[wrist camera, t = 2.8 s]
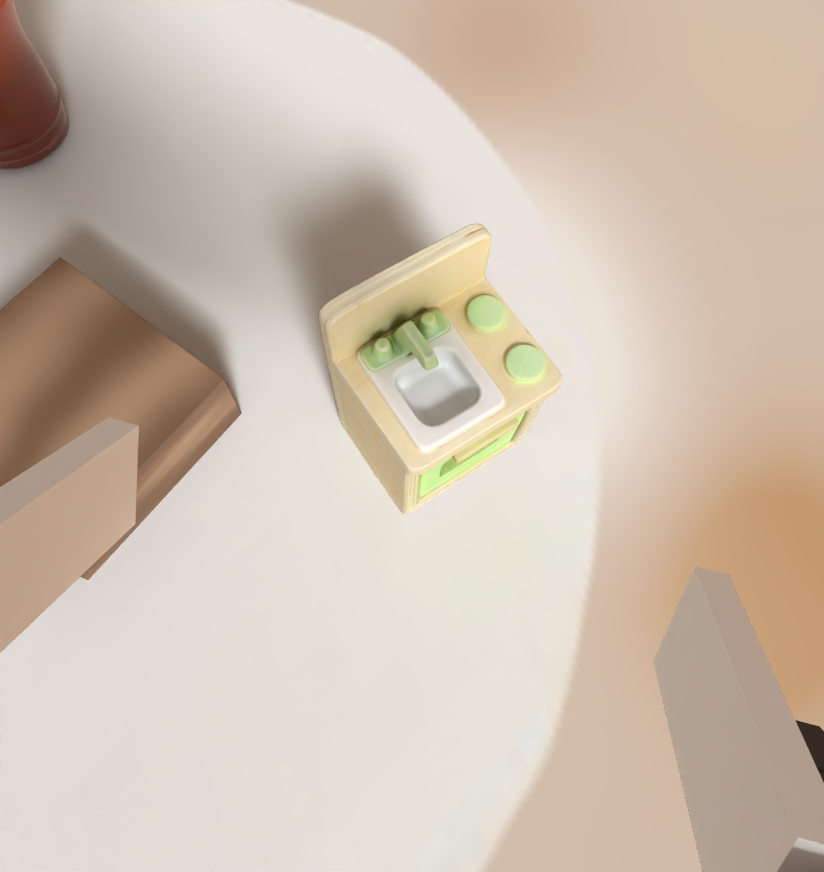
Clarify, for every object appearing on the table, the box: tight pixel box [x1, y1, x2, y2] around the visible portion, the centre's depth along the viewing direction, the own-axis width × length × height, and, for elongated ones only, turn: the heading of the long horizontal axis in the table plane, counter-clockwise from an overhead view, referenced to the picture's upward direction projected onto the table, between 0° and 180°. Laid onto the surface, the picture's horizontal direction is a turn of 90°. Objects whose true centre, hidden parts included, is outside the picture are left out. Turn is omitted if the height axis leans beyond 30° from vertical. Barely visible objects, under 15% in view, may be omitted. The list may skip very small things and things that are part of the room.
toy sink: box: [318, 224, 562, 514], centre depth 34 cm, size 8×7×13 cm
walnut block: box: [0, 258, 241, 580], centre depth 38 cm, size 12×12×5 cm
